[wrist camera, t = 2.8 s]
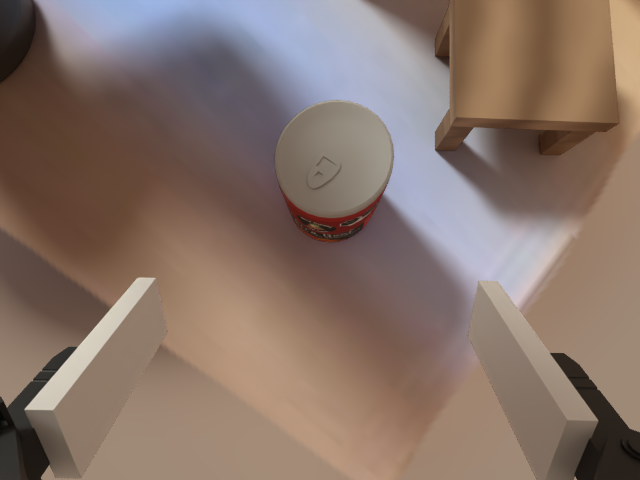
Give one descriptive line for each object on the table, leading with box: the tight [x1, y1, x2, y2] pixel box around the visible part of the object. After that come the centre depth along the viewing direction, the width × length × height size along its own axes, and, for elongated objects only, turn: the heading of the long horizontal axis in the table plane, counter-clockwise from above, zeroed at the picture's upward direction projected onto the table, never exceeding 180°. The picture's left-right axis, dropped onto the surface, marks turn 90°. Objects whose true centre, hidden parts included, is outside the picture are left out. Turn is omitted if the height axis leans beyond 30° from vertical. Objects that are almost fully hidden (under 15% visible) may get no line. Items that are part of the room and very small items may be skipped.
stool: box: [435, 0, 619, 155], centre depth 34 cm, size 12×12×7 cm
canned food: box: [275, 100, 394, 242], centre depth 30 cm, size 8×8×11 cm
